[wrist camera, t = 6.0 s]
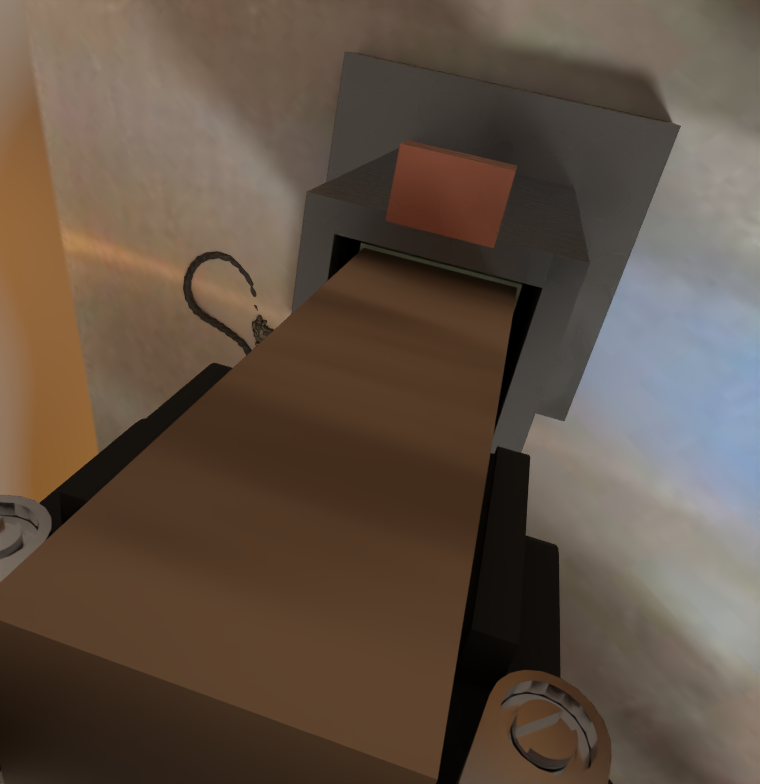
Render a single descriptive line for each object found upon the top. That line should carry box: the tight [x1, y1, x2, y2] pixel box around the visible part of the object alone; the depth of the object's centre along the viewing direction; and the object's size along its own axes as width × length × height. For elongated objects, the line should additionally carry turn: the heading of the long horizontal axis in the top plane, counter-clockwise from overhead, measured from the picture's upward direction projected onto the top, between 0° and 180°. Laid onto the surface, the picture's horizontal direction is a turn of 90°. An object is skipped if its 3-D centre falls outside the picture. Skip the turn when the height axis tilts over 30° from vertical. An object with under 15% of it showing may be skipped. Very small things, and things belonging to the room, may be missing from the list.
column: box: [0, 241, 522, 784], centre depth 13 cm, size 4×4×18 cm
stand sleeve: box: [291, 52, 681, 454], centre depth 21 cm, size 12×12×13 cm
